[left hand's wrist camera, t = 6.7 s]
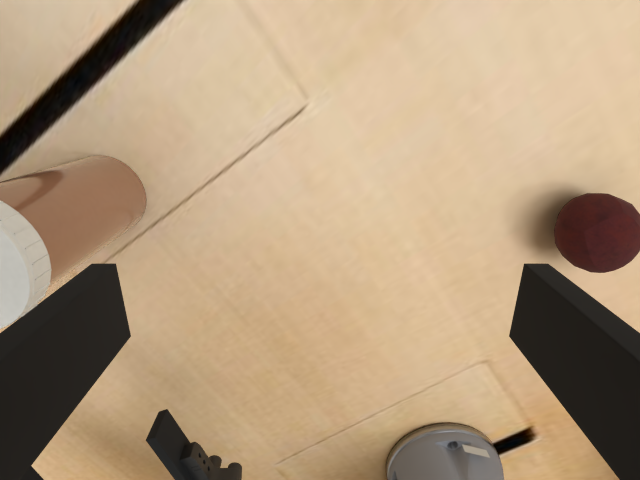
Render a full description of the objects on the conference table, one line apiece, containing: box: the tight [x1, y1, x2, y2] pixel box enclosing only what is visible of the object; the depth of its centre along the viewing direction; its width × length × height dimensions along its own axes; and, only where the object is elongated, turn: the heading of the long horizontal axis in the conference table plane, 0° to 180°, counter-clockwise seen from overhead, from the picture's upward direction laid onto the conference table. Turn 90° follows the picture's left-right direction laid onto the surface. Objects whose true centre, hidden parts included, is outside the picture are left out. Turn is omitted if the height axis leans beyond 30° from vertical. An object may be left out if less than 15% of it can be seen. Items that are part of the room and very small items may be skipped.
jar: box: [0, 156, 146, 288], centre depth 32 cm, size 8×8×18 cm
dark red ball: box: [554, 193, 640, 273], centre depth 38 cm, size 7×8×7 cm
